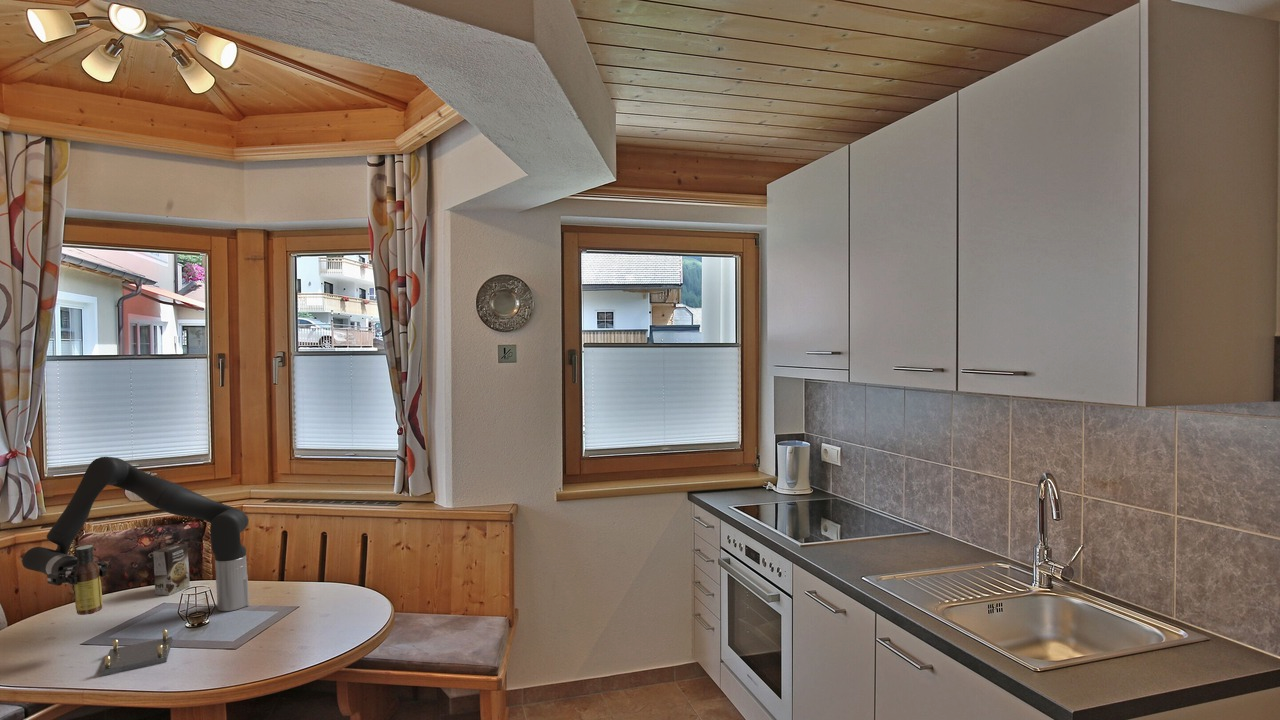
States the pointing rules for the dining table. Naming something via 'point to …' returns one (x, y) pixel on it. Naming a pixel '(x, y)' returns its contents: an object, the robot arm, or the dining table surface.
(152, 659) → the standoff plate
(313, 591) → the dining table surface
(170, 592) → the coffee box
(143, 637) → the dining table surface
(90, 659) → the dining table surface
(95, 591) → the sauce bottle
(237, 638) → the dining table surface
